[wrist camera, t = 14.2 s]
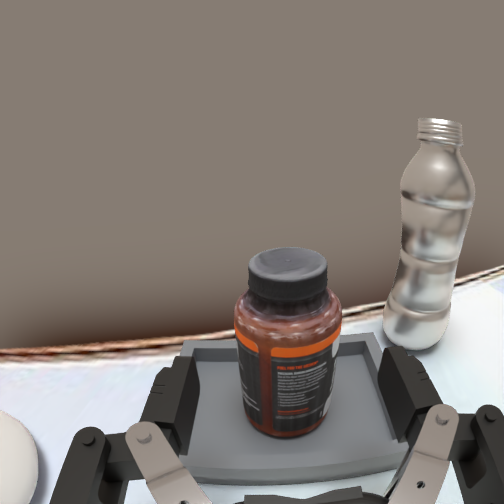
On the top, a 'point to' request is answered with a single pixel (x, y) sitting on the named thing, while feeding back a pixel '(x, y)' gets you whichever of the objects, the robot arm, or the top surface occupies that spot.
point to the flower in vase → (16, 462)
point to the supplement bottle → (287, 341)
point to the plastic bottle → (429, 236)
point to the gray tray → (297, 447)
